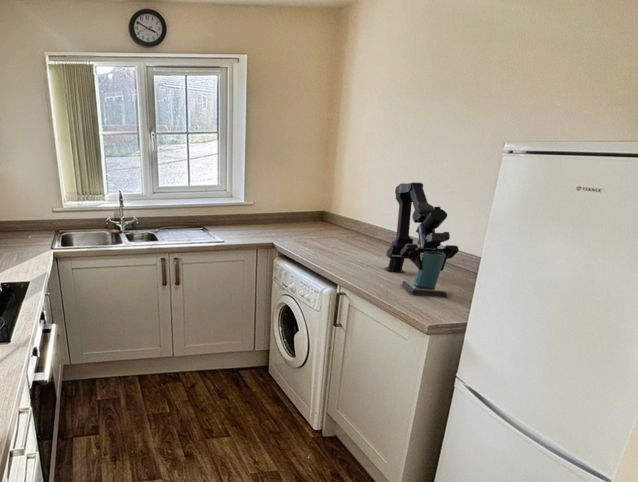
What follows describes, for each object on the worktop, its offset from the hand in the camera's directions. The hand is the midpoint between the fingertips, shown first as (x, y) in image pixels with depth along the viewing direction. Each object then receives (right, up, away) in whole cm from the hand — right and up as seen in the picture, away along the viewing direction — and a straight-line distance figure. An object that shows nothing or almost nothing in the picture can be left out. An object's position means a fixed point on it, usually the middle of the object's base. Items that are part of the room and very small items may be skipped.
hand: (431, 269), depth 176 cm
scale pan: (0, -6, +4) cm, 8 cm away
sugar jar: (0, -6, +4) cm, 7 cm away
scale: (0, -8, +6) cm, 9 cm away
